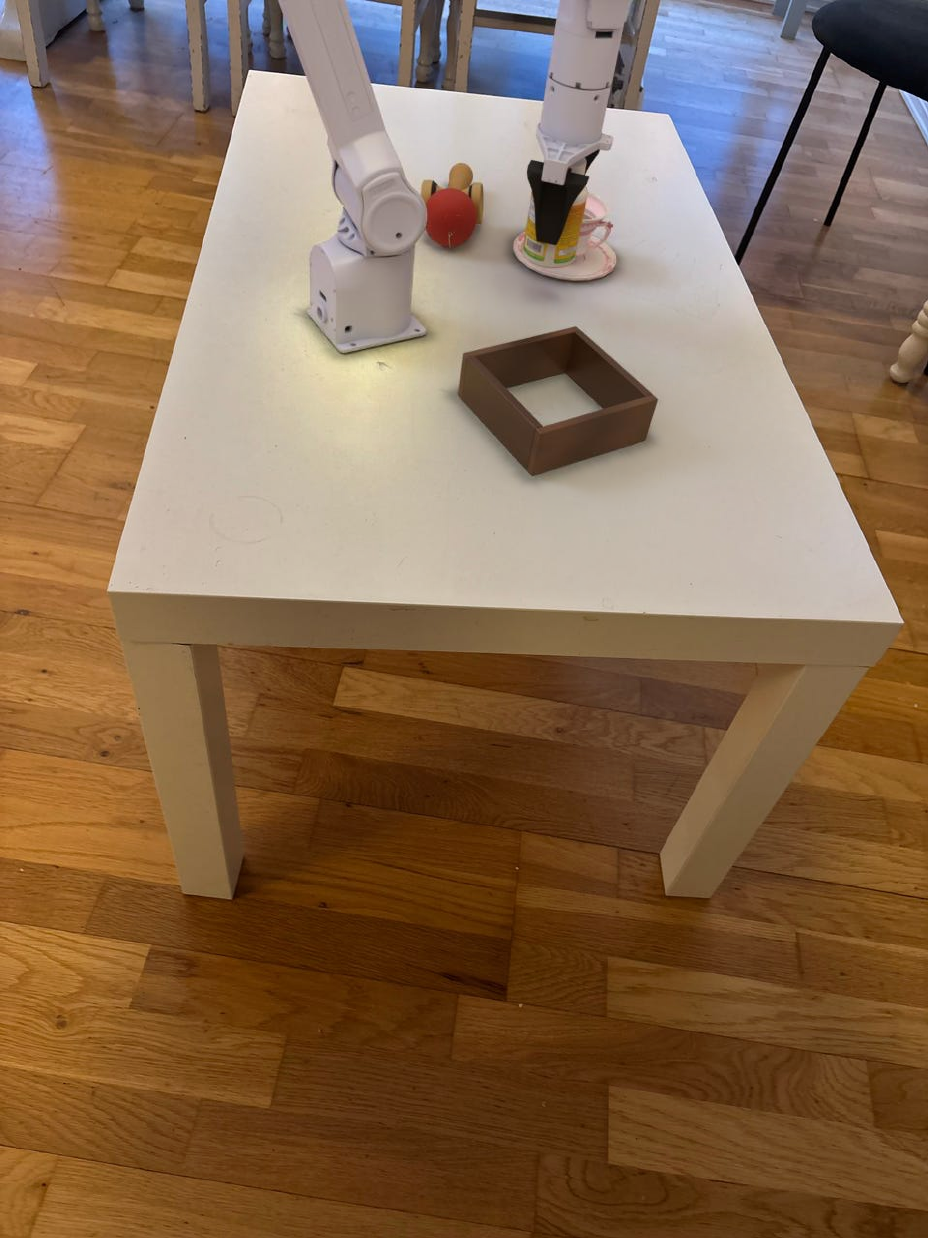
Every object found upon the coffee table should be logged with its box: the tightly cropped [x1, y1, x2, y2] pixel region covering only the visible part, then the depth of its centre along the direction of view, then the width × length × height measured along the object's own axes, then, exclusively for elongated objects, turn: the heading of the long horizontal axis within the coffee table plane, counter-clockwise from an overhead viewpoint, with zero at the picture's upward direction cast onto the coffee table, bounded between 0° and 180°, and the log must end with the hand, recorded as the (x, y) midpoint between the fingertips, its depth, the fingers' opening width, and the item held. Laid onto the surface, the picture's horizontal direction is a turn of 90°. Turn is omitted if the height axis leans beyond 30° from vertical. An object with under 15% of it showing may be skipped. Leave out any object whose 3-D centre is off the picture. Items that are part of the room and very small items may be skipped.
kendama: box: [420, 162, 485, 248], centre depth 106 cm, size 8×6×18 cm
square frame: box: [457, 325, 659, 476], centre depth 82 cm, size 13×13×4 cm
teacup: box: [512, 191, 617, 282], centre depth 102 cm, size 12×12×6 cm
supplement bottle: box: [523, 158, 589, 268], centre depth 89 cm, size 5×5×10 cm
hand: (552, 228), depth 90 cm, fingers closed on supplement bottle, 5 cm apart
